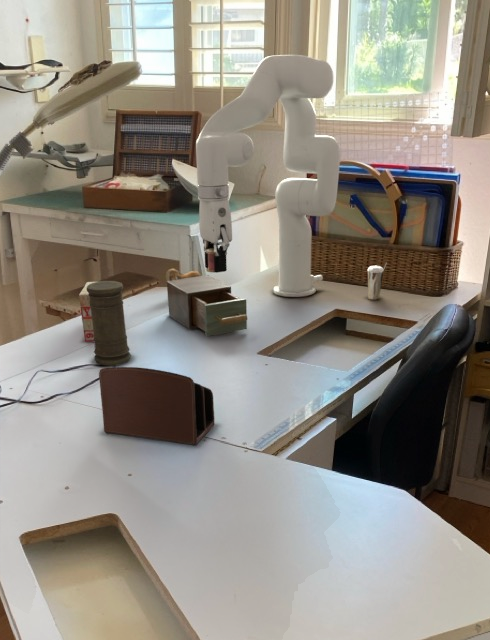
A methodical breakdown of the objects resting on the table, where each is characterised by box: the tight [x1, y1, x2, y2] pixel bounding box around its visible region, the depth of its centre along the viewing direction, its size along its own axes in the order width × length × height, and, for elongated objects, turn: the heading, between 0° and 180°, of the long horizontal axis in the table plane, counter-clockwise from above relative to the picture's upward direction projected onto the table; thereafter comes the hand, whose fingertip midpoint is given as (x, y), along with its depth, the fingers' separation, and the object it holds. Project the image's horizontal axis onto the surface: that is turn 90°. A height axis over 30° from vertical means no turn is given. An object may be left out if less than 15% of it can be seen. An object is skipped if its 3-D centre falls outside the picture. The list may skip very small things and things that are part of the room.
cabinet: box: [166, 274, 232, 330], centre depth 222 cm, size 15×13×10 cm
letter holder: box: [98, 366, 215, 446], centre depth 158 cm, size 10×20×14 cm, turn 69°
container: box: [87, 280, 132, 367], centre depth 193 cm, size 9×9×18 cm
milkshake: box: [366, 262, 388, 301], centre depth 234 cm, size 4×5×10 cm
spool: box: [205, 247, 219, 274], centre depth 206 cm, size 5×5×5 cm
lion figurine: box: [165, 267, 202, 282], centre depth 243 cm, size 15×5×9 cm, turn 136°
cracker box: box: [78, 281, 96, 343], centre depth 216 cm, size 21×6×12 cm, turn 179°
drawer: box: [190, 290, 248, 337], centre depth 212 cm, size 18×11×8 cm, turn 25°
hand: (215, 268), depth 207 cm, fingers closed on spool, 4 cm apart
